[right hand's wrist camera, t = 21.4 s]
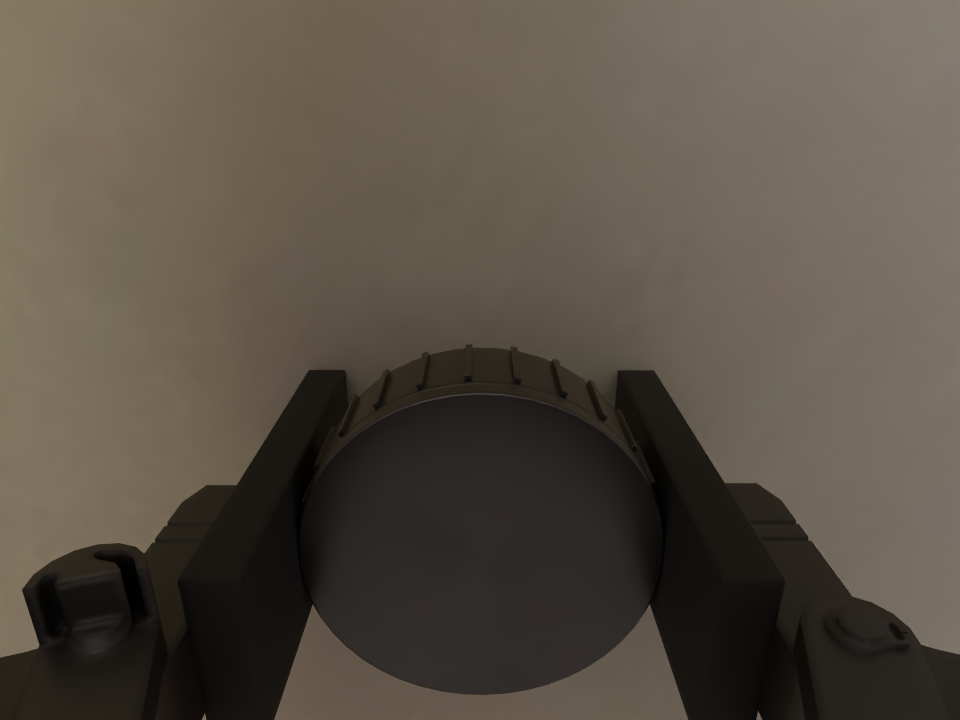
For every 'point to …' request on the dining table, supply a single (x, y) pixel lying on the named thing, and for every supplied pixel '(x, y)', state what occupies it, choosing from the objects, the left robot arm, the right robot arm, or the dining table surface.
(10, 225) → the dining table surface
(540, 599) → the lid
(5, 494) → the dining table surface
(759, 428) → the dining table surface
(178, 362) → the dining table surface
